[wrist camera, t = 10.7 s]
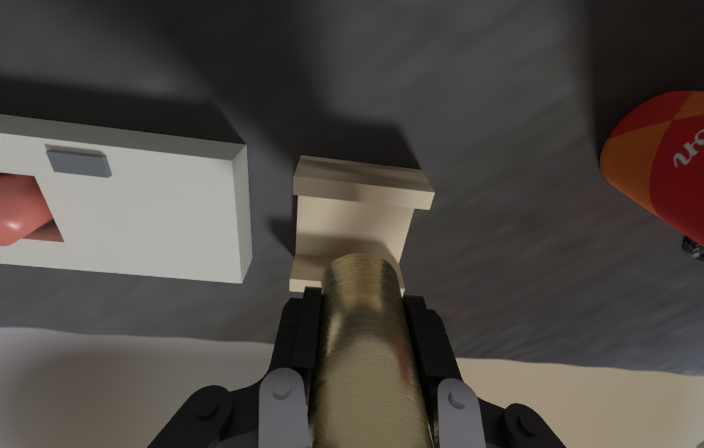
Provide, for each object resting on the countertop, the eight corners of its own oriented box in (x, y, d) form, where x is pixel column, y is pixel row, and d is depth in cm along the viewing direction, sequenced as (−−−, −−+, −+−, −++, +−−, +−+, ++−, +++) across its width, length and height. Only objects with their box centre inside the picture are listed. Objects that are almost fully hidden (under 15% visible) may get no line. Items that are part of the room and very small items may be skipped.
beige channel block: (296, 259, 21) (289, 291, 18) (301, 154, 17) (293, 176, 14) (394, 268, 21) (401, 300, 19) (421, 169, 17) (434, 192, 15)
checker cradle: (23, 237, 19) (-22, 265, 17) (-47, 108, 15) (-120, 121, 13) (252, 258, 21) (240, 286, 18) (246, 144, 16) (230, 163, 14)
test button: (27, 208, 18) (-36, 243, 15) (3, 161, 16) (-73, 189, 13) (81, 214, 18) (29, 249, 15) (62, 167, 16) (1, 196, 14)
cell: (324, 249, 13) (297, 513, 6) (405, 257, 13) (475, 517, 6) (318, 307, 15) (292, 559, 8) (389, 312, 15) (428, 560, 8)
